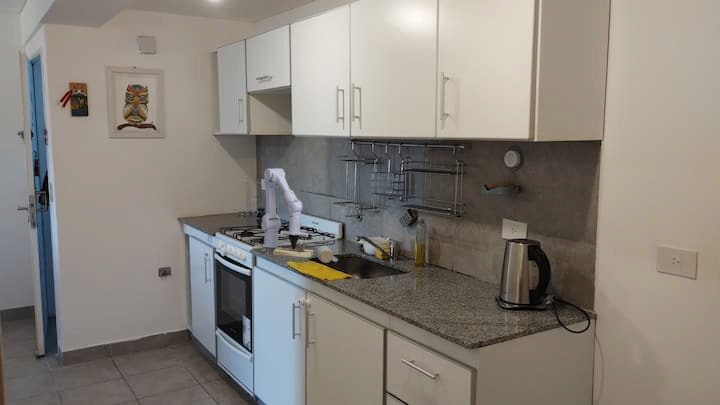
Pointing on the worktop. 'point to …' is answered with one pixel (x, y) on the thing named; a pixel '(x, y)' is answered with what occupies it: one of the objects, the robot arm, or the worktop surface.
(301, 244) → the fader knob
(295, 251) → the fader console
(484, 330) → the worktop surface
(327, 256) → the ceramic mug
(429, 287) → the worktop surface
